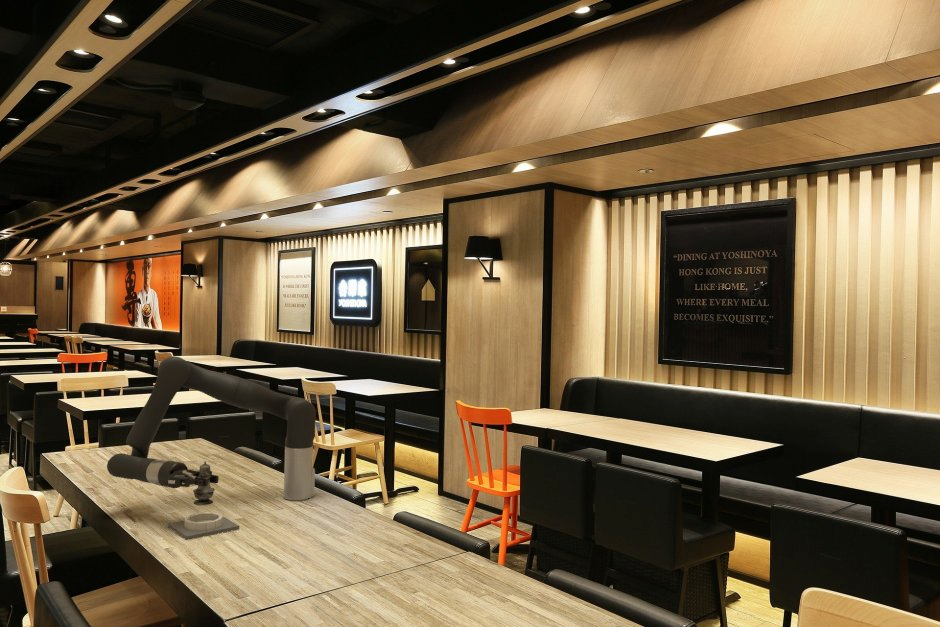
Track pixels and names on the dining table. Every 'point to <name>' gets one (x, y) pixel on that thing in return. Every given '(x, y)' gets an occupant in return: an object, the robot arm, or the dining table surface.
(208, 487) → the salt shaker
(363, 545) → the dining table surface
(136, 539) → the dining table surface
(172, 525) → the tray
